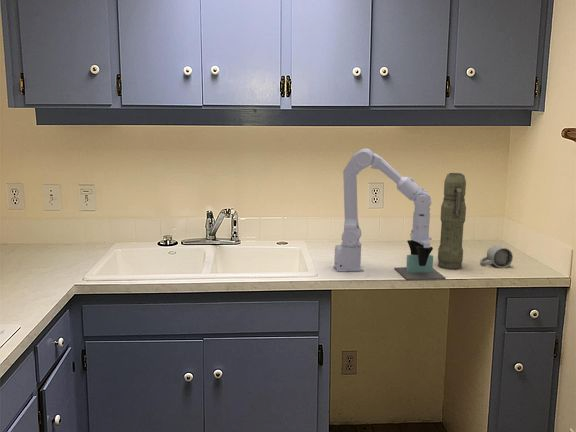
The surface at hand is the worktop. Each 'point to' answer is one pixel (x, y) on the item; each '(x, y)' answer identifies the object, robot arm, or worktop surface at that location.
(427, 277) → the mat
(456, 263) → the thermos
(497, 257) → the ceramic mug
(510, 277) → the worktop surface
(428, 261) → the card box
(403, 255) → the worktop surface
